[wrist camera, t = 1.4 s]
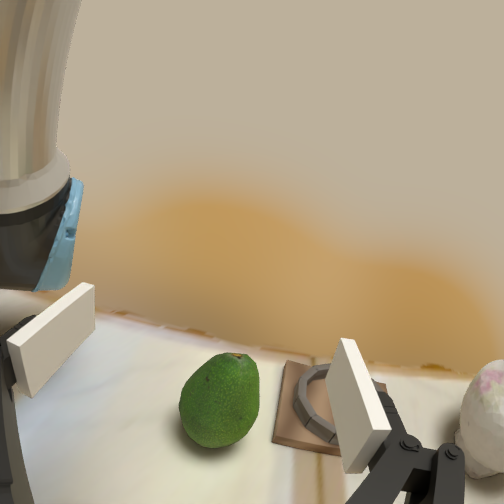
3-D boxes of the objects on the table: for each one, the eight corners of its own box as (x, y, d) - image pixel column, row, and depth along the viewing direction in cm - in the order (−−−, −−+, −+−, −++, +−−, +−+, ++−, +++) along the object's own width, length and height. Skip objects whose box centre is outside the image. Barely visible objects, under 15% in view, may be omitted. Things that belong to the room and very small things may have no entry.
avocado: (259, 436, 32) (293, 365, 28) (210, 473, 27) (235, 406, 22) (210, 395, 37) (230, 320, 32) (159, 423, 31) (168, 346, 26)
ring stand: (271, 442, 32) (281, 425, 31) (284, 367, 45) (291, 349, 44) (392, 462, 31) (407, 447, 30) (381, 390, 44) (391, 374, 43)
